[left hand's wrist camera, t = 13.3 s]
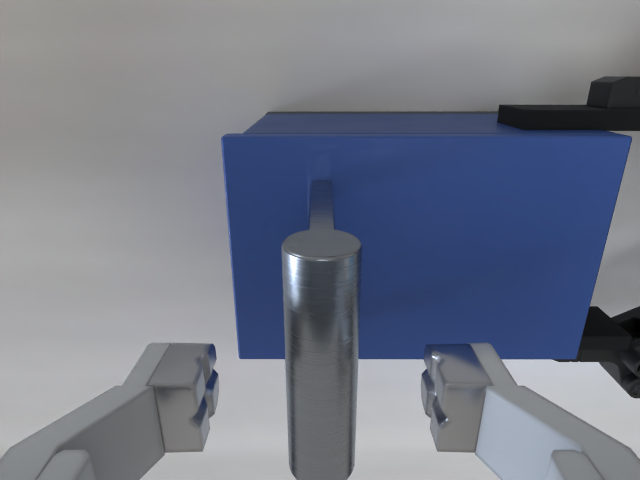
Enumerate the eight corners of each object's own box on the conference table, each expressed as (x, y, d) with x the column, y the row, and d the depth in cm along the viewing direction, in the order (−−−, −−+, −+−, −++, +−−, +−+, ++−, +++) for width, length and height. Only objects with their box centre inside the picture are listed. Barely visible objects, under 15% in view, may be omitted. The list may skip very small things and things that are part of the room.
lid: (242, 348, 19) (190, 528, 12) (225, 133, 16) (137, 190, 8) (566, 348, 19) (727, 529, 12) (618, 133, 16) (891, 190, 8)
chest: (274, 265, 27) (255, 347, 19) (268, 111, 24) (241, 133, 16) (493, 265, 27) (566, 348, 19) (517, 111, 24) (618, 132, 16)
